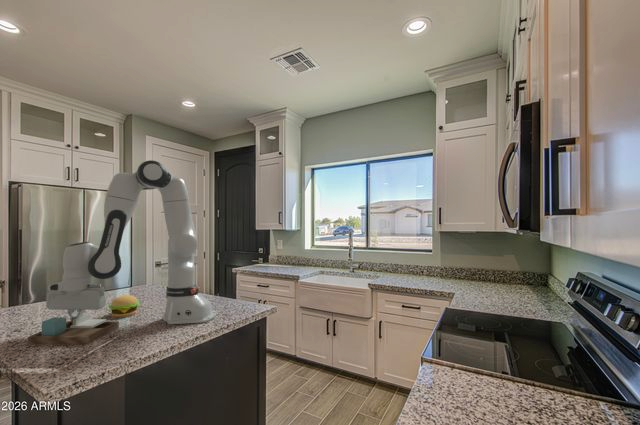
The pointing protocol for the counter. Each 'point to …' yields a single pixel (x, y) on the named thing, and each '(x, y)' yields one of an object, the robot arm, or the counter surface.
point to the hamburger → (124, 306)
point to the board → (75, 335)
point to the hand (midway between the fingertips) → (75, 320)
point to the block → (53, 326)
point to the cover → (86, 322)
